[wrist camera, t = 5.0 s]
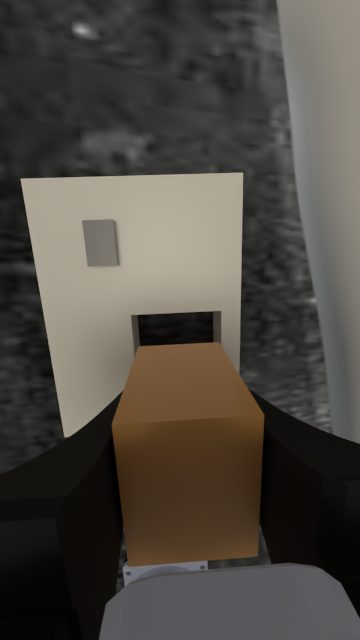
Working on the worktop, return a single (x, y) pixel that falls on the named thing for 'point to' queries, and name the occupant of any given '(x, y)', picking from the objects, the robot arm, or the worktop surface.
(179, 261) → the socket
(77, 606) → the robot arm
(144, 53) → the worktop surface
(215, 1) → the worktop surface
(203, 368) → the plug
